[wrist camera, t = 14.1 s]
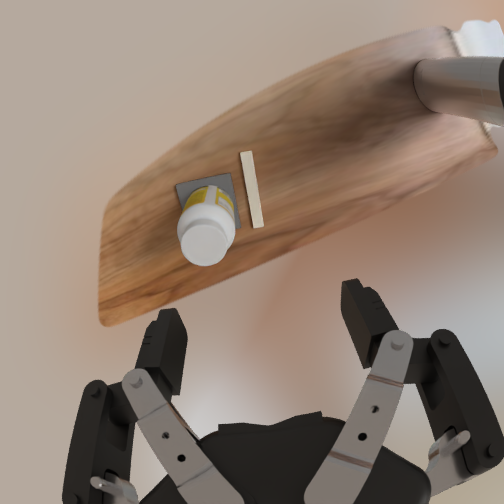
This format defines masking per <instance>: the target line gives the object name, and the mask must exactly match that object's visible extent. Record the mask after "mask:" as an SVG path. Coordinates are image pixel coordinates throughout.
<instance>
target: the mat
mask: <svg viewBox="0 0 504 504" xmlns="http://www.w3.org/2000/svg"><path fill="white" fill-rule="evenodd" d="M206 185H213V186H217V187H220V188H222V189H223V190H225V191H226V192H227V193H228V194H229V195H230V197H231V199H232V201H233V206H234V218H235V229H237V228H241V224H240V219H239V214H238V209H237V204H236V199H235V194H234V189H233V184H232V179H231V174H230V173H226V174H221V175H216V176H211V177H207V178H202V179H197V180H193V181H188V182H184V183H180V184H176V189H177V192H178V196H179V200H180V204H181V207H182V211H183V209H184V207H185V204H186V202H187V200H188V198H189V196H190V195H191V193H192V192H193V191H195V190H196V189H198V188H199V187H202V186H206Z"/></svg>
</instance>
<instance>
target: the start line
mask: <svg viewBox="0 0 504 504" xmlns="http://www.w3.org/2000/svg"><path fill="white" fill-rule="evenodd" d="M240 155H241V160H242V166H243V172H244V177H245V183H246V188H247V194H248V199H249V205H250V211H251V216H252V222H253V227H254V228H259V227H264V223H263V217H262V211H261V204H260V198H259V192H258V186H257V180H256V174H255V168H254V162H253V156H252V151H245V152H240Z"/></svg>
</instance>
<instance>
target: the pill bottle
mask: <svg viewBox="0 0 504 504" xmlns="http://www.w3.org/2000/svg"><path fill="white" fill-rule="evenodd" d="M177 234H178V238H179V241H180V243H181V250H182V253H183V254H184V256H185V257H186V258H187V259H188V260H189V261H190V262H192V263H193V264H196V265H199V266H210V265H213V264H216V263H218V262H219V261H220V260H221V259H222V258H223V257H224V255H225V254H226V251H227V249H228V248H229V247H230V246H231V244H232V242H233V240H234V237H235V218H234V206H233V201H232V199H231V197H230V195H229V194H228V193H227V192H226V191H225V190H223V189H222V188H220V187H217V186H213V185H206V186H202V187H199V188H198V189H196V190H195V191H193V192H192V193H191V195H190V196H189V198H188V200H187V202H186V204H185V207H184V209H183V212H182V214H181V216H180V219H179V222H178V226H177Z"/></svg>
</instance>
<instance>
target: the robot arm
mask: <svg viewBox="0 0 504 504" xmlns="http://www.w3.org/2000/svg"><path fill="white" fill-rule="evenodd" d="M414 86H415V90H416V92H417V95H418V97H419V99H420V100H421V102H422V103H423V104H424V105H425V106H426V107H427V108H428V109H430V110H431V111H434V112H439V113H445V114H450V115H456V116H461V117H466V118H470V119H475V120H479V121H483V122H487V123H491V124H495V125H498V126H502V127H504V57H484V56H470V57H446V58H433V59H424V60H422V61H420V62H419V63H418V64H417V66H416V68H415V70H414ZM341 312H342V316H343V319H344V321H345V324H346V326H347V328H348V331H349V333H350V335H351V338H352V341H353V343H354V346H355V348H356V351H357V353H358V356H359V359H360V361H361V364H362V366H363V369H365V368H369V367H371V371H370V373H369V375H368V377H367V378H366V381H365V383H364V385H363V388H362V390H361V392H360V394H359V397H358V399H357V401H356V403H355V405H354V407H353V410H352V412H351V414H350V416H349V418H348V420H347V422H345V421H343V420H340V419H336V418H331V417H322V413H321V411H319V412H314V413H309V414H303V415H298V416H294V417H292V418H289V419H287V420H284V421H282V422H279V423H276V424H274V425H269V426H266V425H257V424H249V423H234V424H219V425H218V431H215V432H213V433H210V434H208V435H206V436H205V437H203V438H202V439H199V437H198V436H197V435H196V434H195V433H194V432H193V431H192V430H191V428H190V427H189V426H188V424H187V423H186V422H185V420H184V419H183V418H182V416H181V415H180V414H179V412H178V411H177V409H176V408H175V407H174V405H173V404H172V403H171V397H172V395H180V389H181V382H182V375H183V368H184V360H185V354H186V348H187V340H188V337H187V332H186V328H185V326H184V324H183V322H182V320H181V318H180V315H179V314H178V311H177V310H176V309H175V308H171V309H163V310H160V311H159V315H158V318H157V320H156V321H152V322H151V323H150V325H149V326H148V327H147V329H146V332H145V335H144V339H143V342H142V345H141V348H140V352H139V355H138V359H137V362H136V366H135V369H133V370H131V371H130V372H128V373H127V374H126V375H125V376H124V378H123V380H122V382H118V383H115V384H111V385H108V386H107V385H106V384H105V383H104V382H103V381H102V380H94V381H92V382H90V383H89V384H88V385H87V386H86V387H85V389H84V392H83V395H82V399H81V402H80V406H79V410H78V413H77V417H76V421H75V425H74V430H73V434H72V439H71V444H70V448H69V453H68V459H67V464H66V471H65V478H64V484H63V493H62V501H63V504H429V500H430V497H432V496H434V495H437V494H439V493H441V492H443V491H444V490H447V489H449V488H451V487H453V486H455V485H459V484H462V483H464V482H466V481H468V480H470V479H472V478H474V477H476V476H478V475H480V474H482V473H484V472H486V471H488V470H490V469H492V468H493V467H495V466H497V465H498V464H499V463H500V462H501V460H502V459H503V457H504V436H503V434H502V431H501V428H500V425H499V423H498V420H497V418H496V415H495V413H494V410H493V408H492V406H491V403H490V401H489V399H488V397H487V394H486V392H485V390H484V388H483V386H482V384H481V382H480V379H479V377H478V375H477V373H476V372H475V370H474V368H473V366H472V364H471V362H470V360H469V358H468V356H467V354H466V353H465V351H464V349H463V348H462V346H461V344H460V342H459V340H458V339H457V337H456V335H454V333H453V332H451V331H449V330H446V329H439V330H436V331H435V332H433V334H432V335H431V338H411V336H410V335H409V334H408V333H406V332H404V331H401V330H399V328H398V327H397V325H396V323H395V321H394V320H393V318H392V316H391V315H390V313H389V311H388V309H387V308H386V307H385V305H384V303H383V302H382V299H381V298H380V296H379V295H378V293H377V292H376V291H375V290H373V289H372V288H371V287H365V288H363V286H362V284H361V283H360V281H359V280H358V279H357V278H356V279H351V280H347V281H343V282H342V290H341ZM413 383H415V384H416V387H417V389H418V392H419V395H420V397H421V400H422V403H423V406H424V408H425V411H426V414H427V417H428V420H429V423H430V426H431V429H432V432H433V436H434V439H435V443H433V445H432V446H431V448H430V450H429V454H428V457H429V464H428V467H427V469H426V471H425V472H424V471H423V470H422V469H421V468H419V467H418V466H416V465H414V464H413V463H410V462H409V461H407V460H406V459H404V458H402V457H401V456H399V455H397V454H395V453H394V452H392V451H391V450H389V449H388V448H386V447H384V446H383V445H382V444H383V442H384V439H385V437H386V434H387V432H388V429H389V427H390V424H391V422H392V419H393V417H394V414H395V411H396V408H397V405H398V403H399V399H400V396H401V393H402V390H403V386H404V385H403V384H413ZM135 422H137V424H138V426H139V428H140V429H141V431H142V433H143V435H144V436H145V438H146V440H147V441H148V443H149V445H150V446H151V448H152V450H153V451H154V453H155V454H156V456H157V458H158V459H159V461H160V462H161V464H162V465H163V467H164V468H165V470H166V471H167V473H168V474H167V475H166V476H165V477H164V478H163V479H162V480H161V481H160V482H159V484H157V485H156V486H155V487H154V489H152V491H150V492H149V493H148V494H147V495H146V496H145V497H144V498H143V499H142V500H141V501H140V503H139V501H138V495H137V493H136V489H135V487H134V486H133V485H132V484H131V483H130V482H129V481H130V467H131V455H132V446H133V437H134V429H135Z"/></svg>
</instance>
